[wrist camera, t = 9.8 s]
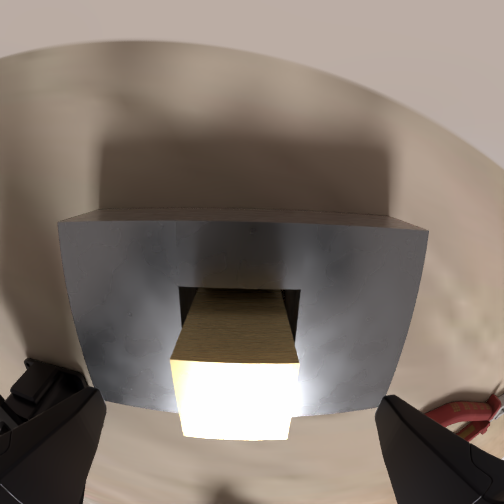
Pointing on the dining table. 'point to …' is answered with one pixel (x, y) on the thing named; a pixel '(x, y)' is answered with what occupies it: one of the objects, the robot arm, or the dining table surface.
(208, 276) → the grey block with hole
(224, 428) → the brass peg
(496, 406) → the pliers
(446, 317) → the dining table surface
